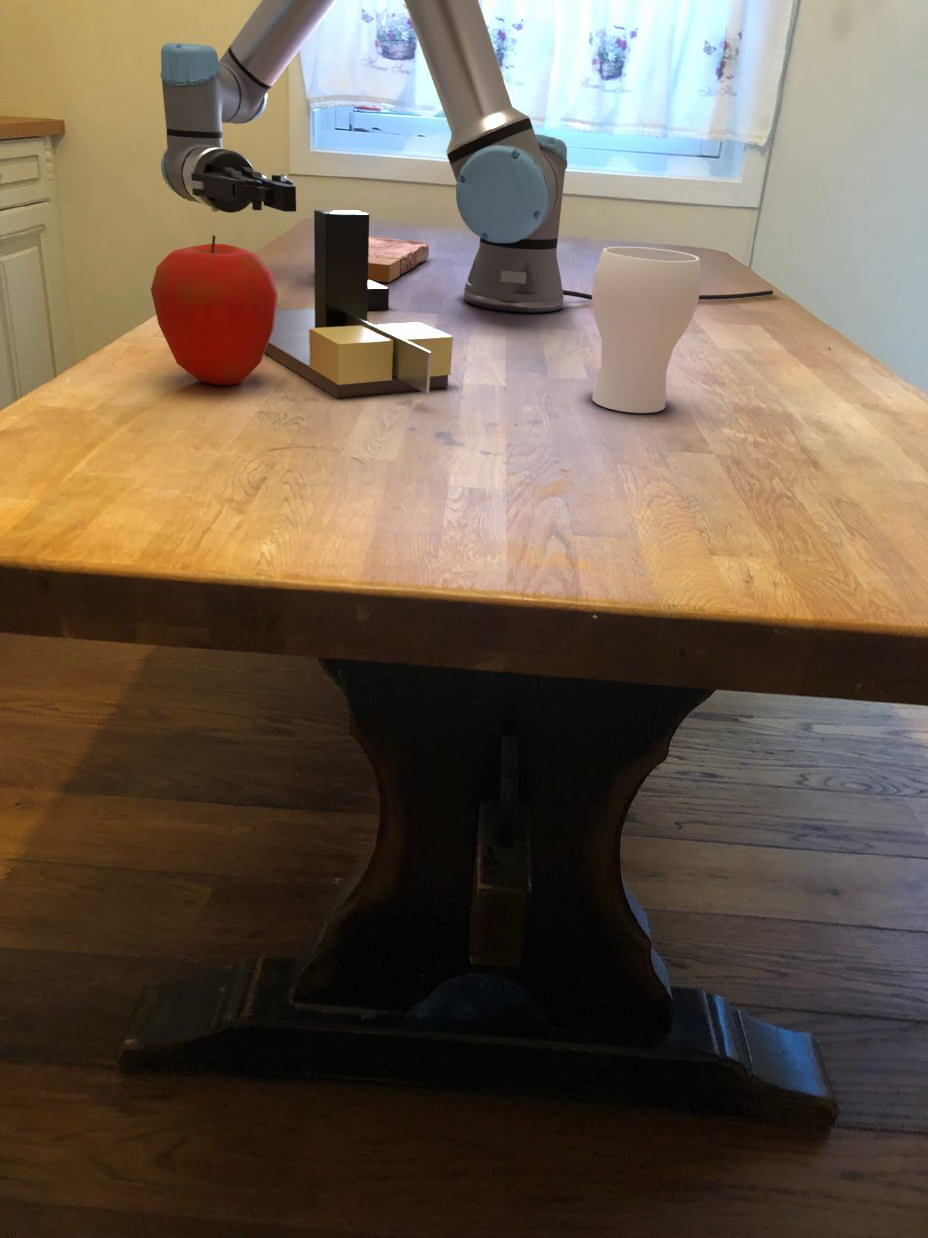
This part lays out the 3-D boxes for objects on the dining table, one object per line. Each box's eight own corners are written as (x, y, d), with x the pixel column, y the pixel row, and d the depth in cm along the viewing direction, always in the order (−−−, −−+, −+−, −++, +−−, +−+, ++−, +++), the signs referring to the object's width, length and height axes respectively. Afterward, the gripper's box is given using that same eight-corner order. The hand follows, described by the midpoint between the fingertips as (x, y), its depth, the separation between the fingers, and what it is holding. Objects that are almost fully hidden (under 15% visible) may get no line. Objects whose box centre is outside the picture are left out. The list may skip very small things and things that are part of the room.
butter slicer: (314, 345, 106) (313, 209, 100) (355, 342, 109) (356, 210, 102) (405, 395, 91) (411, 240, 84) (449, 391, 94) (459, 239, 87)
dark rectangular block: (326, 300, 138) (326, 278, 137) (363, 298, 141) (363, 277, 140) (350, 311, 132) (350, 289, 131) (388, 309, 135) (389, 287, 134)
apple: (179, 361, 103) (169, 222, 96) (289, 370, 103) (286, 231, 96) (142, 392, 92) (127, 237, 85) (265, 401, 92) (260, 247, 85)
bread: (312, 275, 155) (312, 254, 154) (363, 252, 181) (364, 234, 180) (389, 284, 153) (390, 262, 152) (430, 259, 179) (431, 240, 178)
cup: (678, 423, 96) (707, 266, 88) (573, 410, 97) (593, 254, 90) (678, 396, 105) (704, 252, 98) (583, 384, 106) (601, 241, 99)
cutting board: (220, 325, 120) (219, 312, 119) (315, 320, 126) (315, 308, 125) (336, 398, 95) (336, 383, 94) (447, 387, 101) (448, 373, 101)
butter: (309, 367, 99) (309, 328, 97) (417, 358, 105) (419, 321, 103) (338, 384, 94) (338, 343, 92) (450, 374, 100) (452, 336, 98)
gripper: (267, 209, 132) (341, 232, 115) (174, 209, 126) (237, 234, 109) (265, 149, 129) (341, 164, 111) (169, 146, 122) (233, 161, 105)
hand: (289, 198), depth 110 cm, fingers closed
